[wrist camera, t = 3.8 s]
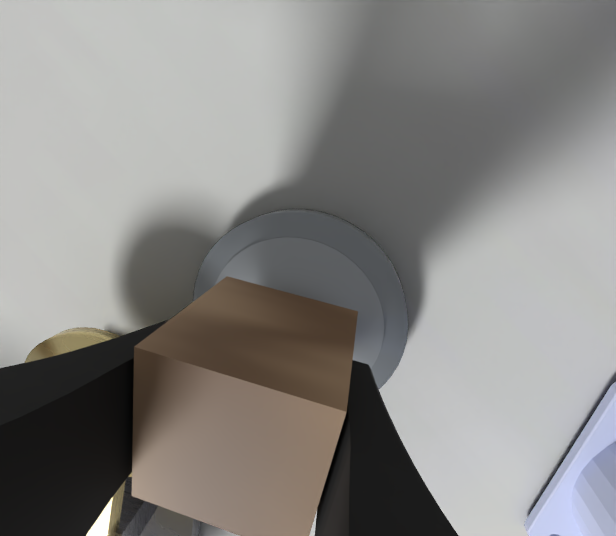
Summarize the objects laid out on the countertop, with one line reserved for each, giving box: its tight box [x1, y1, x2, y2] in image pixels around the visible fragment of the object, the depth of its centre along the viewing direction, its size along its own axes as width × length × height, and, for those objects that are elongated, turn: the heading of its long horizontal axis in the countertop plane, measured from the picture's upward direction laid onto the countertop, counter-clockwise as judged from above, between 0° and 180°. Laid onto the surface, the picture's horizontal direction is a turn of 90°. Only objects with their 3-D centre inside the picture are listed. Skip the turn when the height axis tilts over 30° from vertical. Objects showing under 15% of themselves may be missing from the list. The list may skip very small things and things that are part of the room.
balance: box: [25, 327, 201, 536], centre depth 14 cm, size 21×6×6 cm, turn 169°
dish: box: [193, 209, 408, 390], centre depth 12 cm, size 8×8×1 cm
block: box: [132, 276, 358, 536], centre depth 8 cm, size 4×4×4 cm
